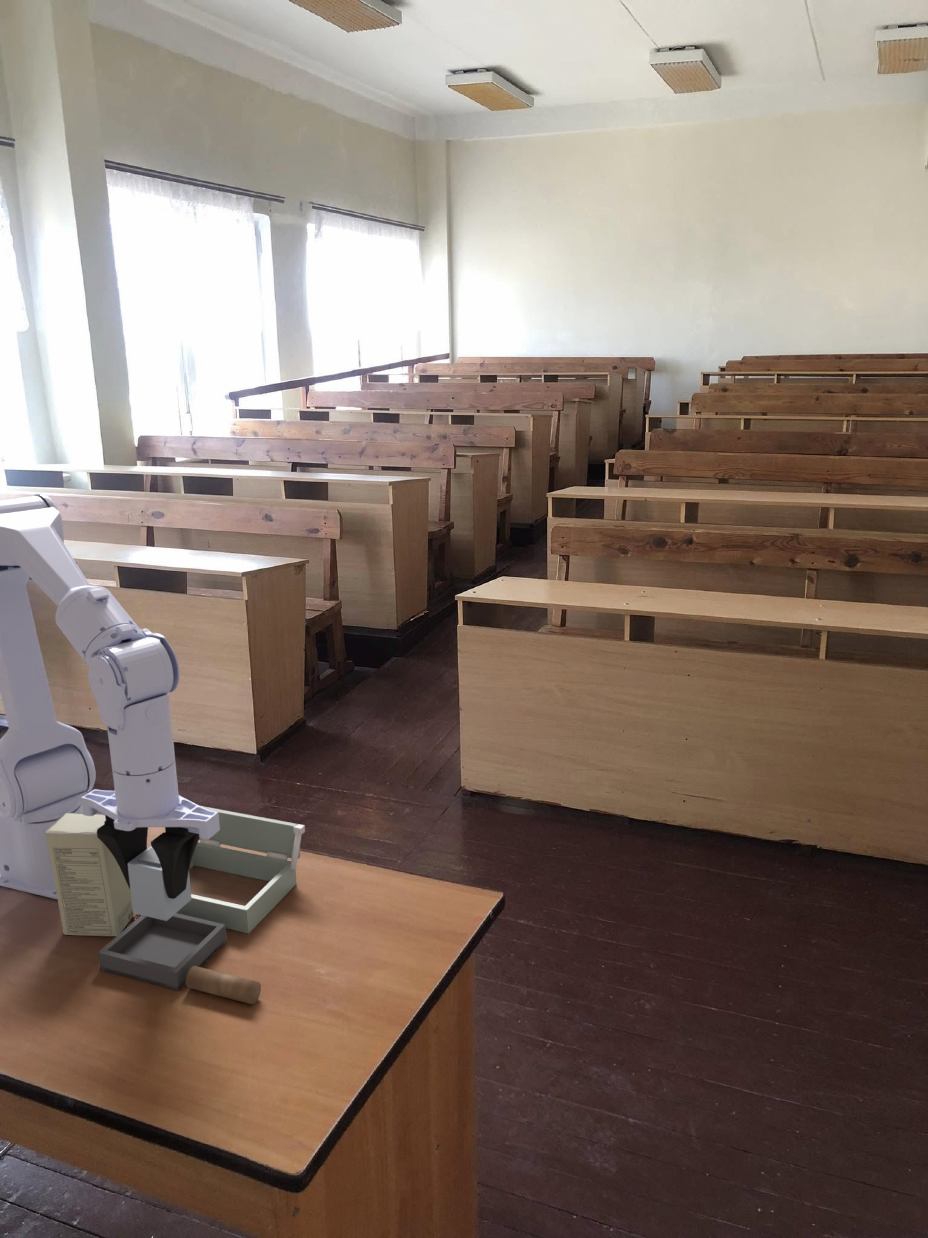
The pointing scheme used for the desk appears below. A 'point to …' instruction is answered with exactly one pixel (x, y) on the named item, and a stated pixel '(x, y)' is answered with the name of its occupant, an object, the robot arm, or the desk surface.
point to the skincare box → (87, 878)
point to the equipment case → (247, 866)
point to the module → (153, 888)
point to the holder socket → (162, 949)
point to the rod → (223, 985)
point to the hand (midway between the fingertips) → (157, 888)
